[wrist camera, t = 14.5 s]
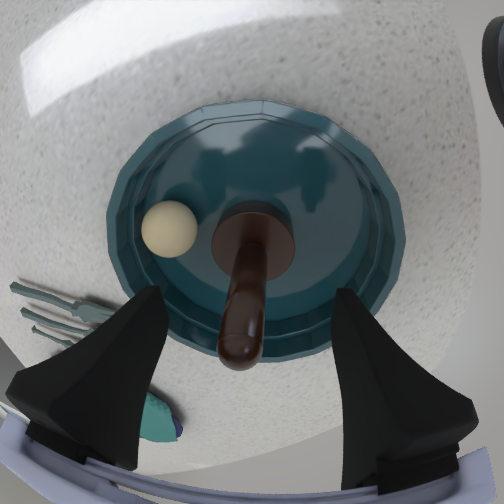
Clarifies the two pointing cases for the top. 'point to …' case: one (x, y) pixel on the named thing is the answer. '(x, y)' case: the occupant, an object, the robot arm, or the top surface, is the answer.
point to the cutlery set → (155, 411)
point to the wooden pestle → (249, 275)
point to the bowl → (269, 191)
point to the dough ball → (169, 229)
